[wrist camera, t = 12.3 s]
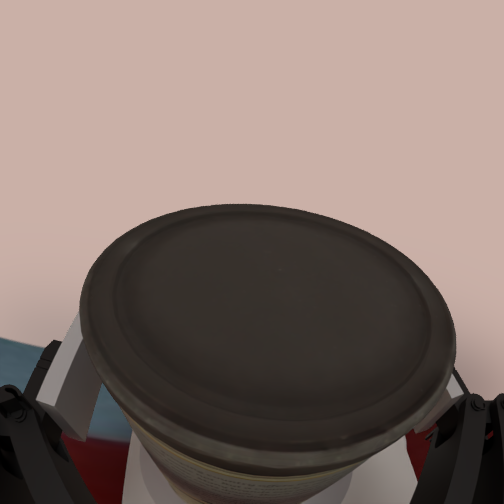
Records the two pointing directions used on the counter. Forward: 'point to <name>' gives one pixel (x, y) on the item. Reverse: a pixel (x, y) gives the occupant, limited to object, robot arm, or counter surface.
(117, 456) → the counter surface
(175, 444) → the coffee can
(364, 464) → the kitchen scale
